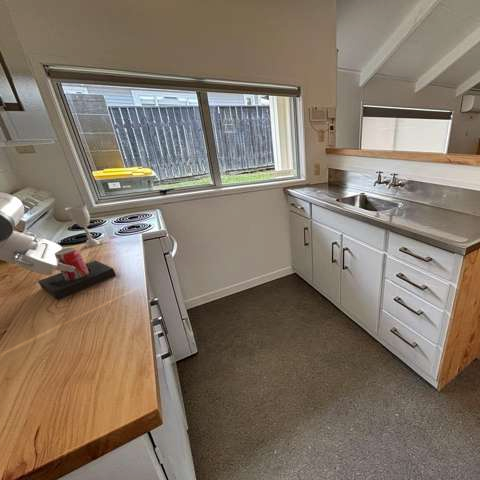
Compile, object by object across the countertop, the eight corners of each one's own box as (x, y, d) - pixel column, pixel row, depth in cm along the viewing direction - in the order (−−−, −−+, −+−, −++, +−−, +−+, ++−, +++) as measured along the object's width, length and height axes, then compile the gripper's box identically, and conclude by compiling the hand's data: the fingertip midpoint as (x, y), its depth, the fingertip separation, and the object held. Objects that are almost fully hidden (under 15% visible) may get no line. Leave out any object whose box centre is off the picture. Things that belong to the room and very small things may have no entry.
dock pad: (57, 300, 79) (53, 292, 78) (42, 288, 85) (37, 281, 84) (116, 275, 91) (113, 268, 90) (98, 267, 98) (95, 260, 97)
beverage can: (63, 286, 86) (46, 254, 81) (83, 276, 92) (68, 246, 87) (77, 288, 85) (61, 256, 80) (96, 278, 90) (82, 247, 85)
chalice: (82, 249, 115) (64, 210, 108) (82, 244, 120) (65, 207, 112) (102, 244, 119) (86, 206, 112) (102, 240, 124) (87, 203, 117)
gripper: (17, 249, 69) (79, 268, 79) (30, 230, 84) (81, 248, 94) (2, 269, 69) (66, 286, 78) (17, 247, 83) (70, 263, 93)
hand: (74, 265), depth 86 cm, fingers closed on beverage can, 6 cm apart
